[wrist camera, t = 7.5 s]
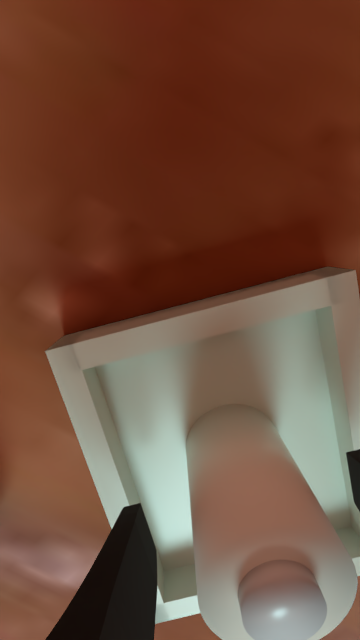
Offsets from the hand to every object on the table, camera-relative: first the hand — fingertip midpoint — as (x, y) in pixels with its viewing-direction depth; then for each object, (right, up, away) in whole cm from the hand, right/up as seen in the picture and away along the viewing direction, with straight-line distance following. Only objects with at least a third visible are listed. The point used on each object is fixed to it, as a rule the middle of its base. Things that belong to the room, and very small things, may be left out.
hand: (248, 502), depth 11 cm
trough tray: (0, +1, +4) cm, 4 cm away
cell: (0, +1, +3) cm, 3 cm away
